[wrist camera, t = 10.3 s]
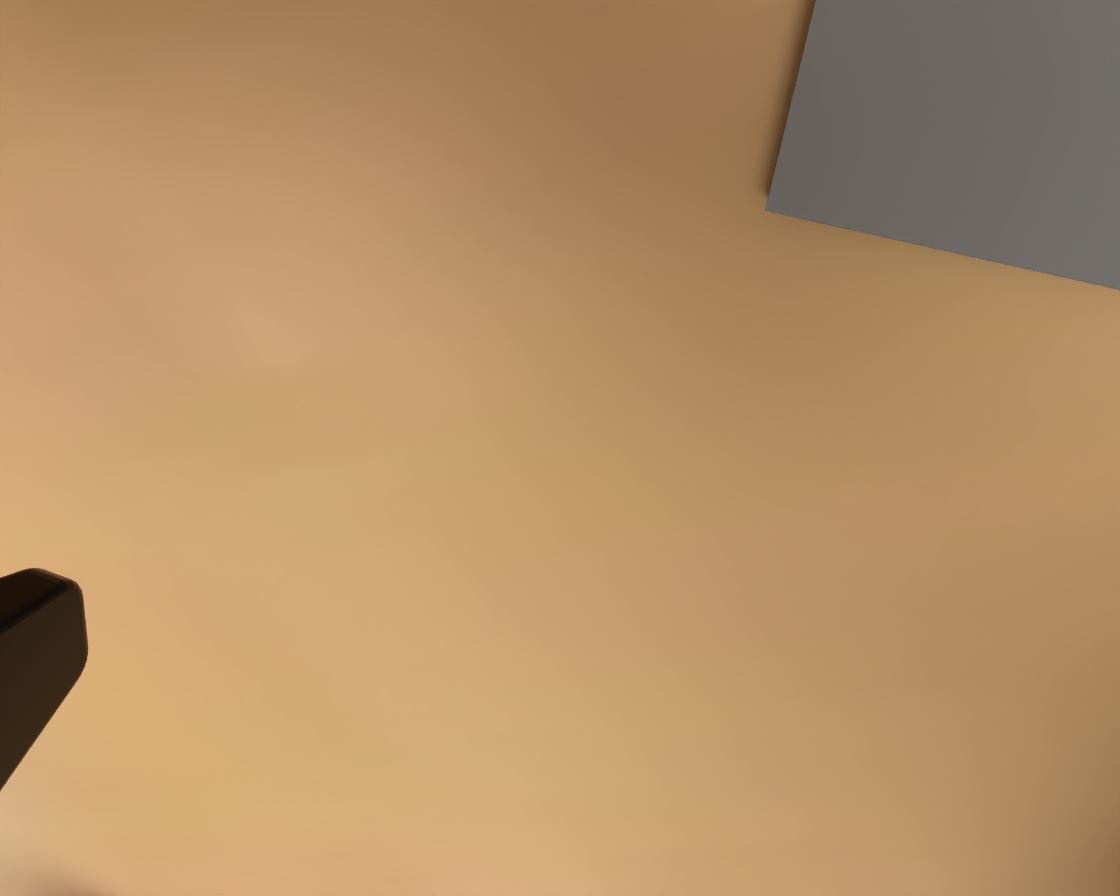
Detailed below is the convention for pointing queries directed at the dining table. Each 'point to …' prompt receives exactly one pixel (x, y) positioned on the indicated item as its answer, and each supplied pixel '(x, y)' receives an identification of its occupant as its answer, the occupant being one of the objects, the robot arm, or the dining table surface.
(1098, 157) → the subfloor mat
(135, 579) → the dining table surface
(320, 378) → the dining table surface
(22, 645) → the robot arm
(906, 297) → the dining table surface
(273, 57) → the dining table surface
